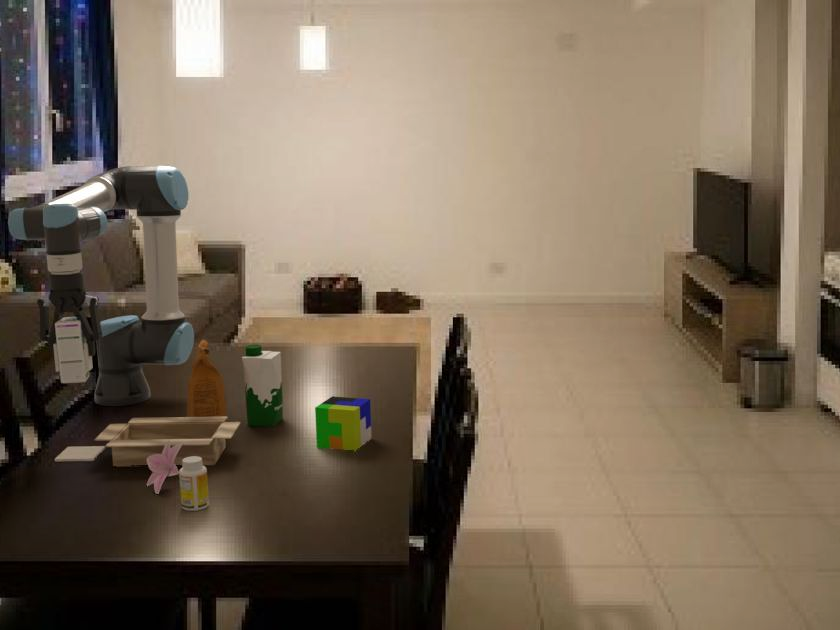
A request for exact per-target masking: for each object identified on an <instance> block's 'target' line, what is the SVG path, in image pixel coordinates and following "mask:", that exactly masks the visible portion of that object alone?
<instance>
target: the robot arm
mask: <svg viewBox="0 0 840 630" xmlns="http://www.w3.org/2000/svg"><path fill="white" fill-rule="evenodd" d="M188 201H189V188H188V184H187V181H186V178H185V176H184V174H183V172H182V171H180V169H178V168H177V167H174V166H167V165H166V166H165V165H152V166H151V165H149V166H148V165H147V166H144V165H143V166H137V165H136V166H131V165H130V166H120V167H115V168H112V169H110V170H106V171H104V172H102V173H99V174H96V175H94V176H92V177H90V178H88V179H87V180H86V181H85V182H84V184H83V185H82V186H79V187H77V188H74V189H72V190H70V191H68V192H65V193H64V194H61V195H59V196H56V197H55V198H52V199H50V200H48V201H46V202H44V203H41V204H38V205H36V206H34V207H29V208H27V207H22V208H15V209H13V210H12V211H11V212H10V213H9V216H8V220H7V225H8V231H9V233H10V235H11V236H12V237H13V238H14V239H17V240H23V241H27V242H28V241H45V247H46V248H45V250H46V261H47V262H46V263H47V271H48V272H49V274H48V286H49V294H48V296H45V297H44V296H43V297H40V298H39V299H37V300H36V301H37V303H36V304H37V306H38V308H39V339H40V341H41V342H46V343H48V345H49V346H48V347H49V355H50V357H52V358H54V366H55V372H56V373H57V372H60V369H59V359H58V350H57V340H56V330H55V323H56V322H57V321H59V320H61V319H62V318H64V313H67V312H69V313H73V315H74V317H76V318H77V320H80V321H81V328H82V332H83V334H84V336H85V339H86V342H85V343H84V355H85V366H86V371H89V372H90V371H91V370H92V369H94V367H93V366H94V365H93V356H95V354H96V352H97V354H96V355H97V363H98V364H97V365H98V378H97V382H96V386H95V390H94V402H95V404H97V405H100V406H105V407H123V406H129V405H131V406H132V405H137V404H140V403H144V402H146V401H148V400H149V399H151V397H152V395H151V389H150V385H149V383H148V381H147V379H146V377H145V374H144V371H143V365H161V366H162V365H165V366H168V367H169V366H170V365H171V366H173V365H174V366H176V365H178V366H179V365H182V364H184V363H185V362H186V361H187V360H188V359H189V357H190V356H191V353H192V350H193V347H194V344H195V343H194V342H195V341H194V340H195V332H194V329H193V327H194V326H193V325H192V324H191V323H190V322H186V316H185V314H184V313H183V312H182V311H181V310H180V304H179V303H180V302H179V301H180V300H179V299H180V298H179V278H178V277H179V275H178V253H177V230H176V229H177V228H176V223H177V220H179V219H180V217H182V216H181V215H182V212H181V210H182V211H183V210H185V209H186V207H187V206H188V203H189V202H188ZM111 210H112V211H113V210H132V211H133V210H135V211H136V218H137V219H138V220H139V221H140V222H141V224H142V230H143V231H142V233H143V236H142V237H143V255H144V257H143V258H144V274H145V275H144V276H145V277H144V279H145V293H146V294H145V295H146V296H145V297H146V300H145V301H146V311H145V313H144V314H142V316H141V321H140V318H139V316H138V315H131V314H130V315H122V316H116V317H113V318H108V319H105V320H102V321H101V319H100V313H99V307H98V306H99V301H100V300H99V299H100V298H99V296H97V295H94V296H91V295H87V293H86V291H85V281H84V272H83V271H81V270H82V269H83V259H82V248H81V242H84V241H89V240H95V239H96V238H98V237H100V236H102V235H103V234H104V233H105V232H106V231H107V229H108V218H107V215H106V214H105V213H106V212H108V211H111ZM85 302H87V303H86V304H87V306H88V307H89V310H88V311H89V315H90V322H91V326H90V323H89V321H88V319H87V316H86V314H85V309H84V307H83V305H84V303H85ZM50 303H51V304H52V305H53V306H54V307H55V308H54V313H53V319H52V323H51V329H50V309H49V306H50ZM95 343H96V344H95Z"/></svg>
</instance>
